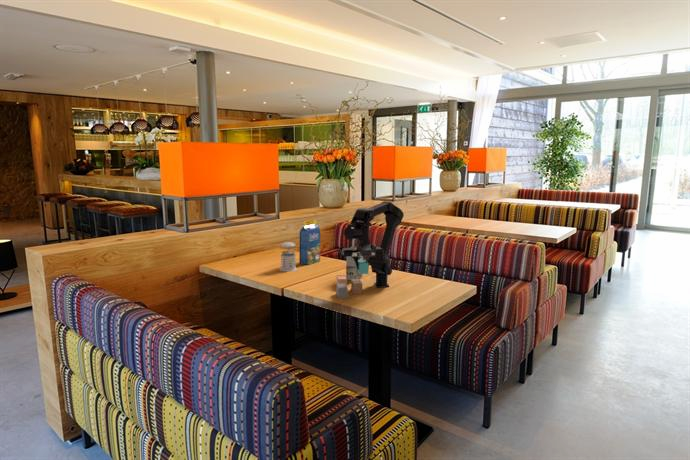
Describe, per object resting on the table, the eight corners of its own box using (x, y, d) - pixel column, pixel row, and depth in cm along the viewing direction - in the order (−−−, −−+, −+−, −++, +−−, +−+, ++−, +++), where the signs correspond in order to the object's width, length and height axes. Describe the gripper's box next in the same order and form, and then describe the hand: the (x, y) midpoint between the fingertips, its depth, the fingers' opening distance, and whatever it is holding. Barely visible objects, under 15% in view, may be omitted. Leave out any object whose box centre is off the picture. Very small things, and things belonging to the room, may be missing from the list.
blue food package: (299, 263, 263) (299, 221, 259) (312, 259, 273) (312, 218, 269) (307, 265, 260) (307, 222, 255) (320, 261, 270) (320, 219, 265)
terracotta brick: (336, 285, 223) (336, 275, 222) (344, 284, 223) (344, 275, 222) (338, 289, 216) (338, 279, 215) (346, 289, 217) (346, 278, 216)
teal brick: (356, 270, 212) (356, 259, 211) (364, 269, 213) (364, 259, 212) (359, 274, 205) (360, 263, 205) (368, 273, 206) (368, 263, 205)
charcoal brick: (336, 294, 209) (336, 283, 208) (344, 293, 209) (345, 283, 209) (338, 298, 202) (338, 288, 201) (347, 298, 203) (347, 287, 202)
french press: (293, 266, 257) (293, 222, 253) (300, 271, 247) (300, 226, 242) (277, 267, 253) (276, 223, 248) (283, 273, 242) (283, 227, 238)
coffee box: (357, 281, 229) (358, 250, 227) (345, 279, 231) (346, 249, 229) (362, 276, 238) (363, 246, 235) (351, 275, 240) (351, 245, 237)
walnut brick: (351, 289, 216) (351, 279, 215) (359, 289, 217) (359, 279, 216) (353, 294, 209) (353, 283, 208) (362, 293, 210) (362, 283, 209)
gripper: (346, 240, 197) (346, 275, 199) (387, 239, 201) (386, 273, 203) (341, 235, 207) (341, 268, 210) (380, 234, 211) (379, 267, 214)
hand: (362, 269), depth 209 cm, fingers closed on teal brick, 4 cm apart
